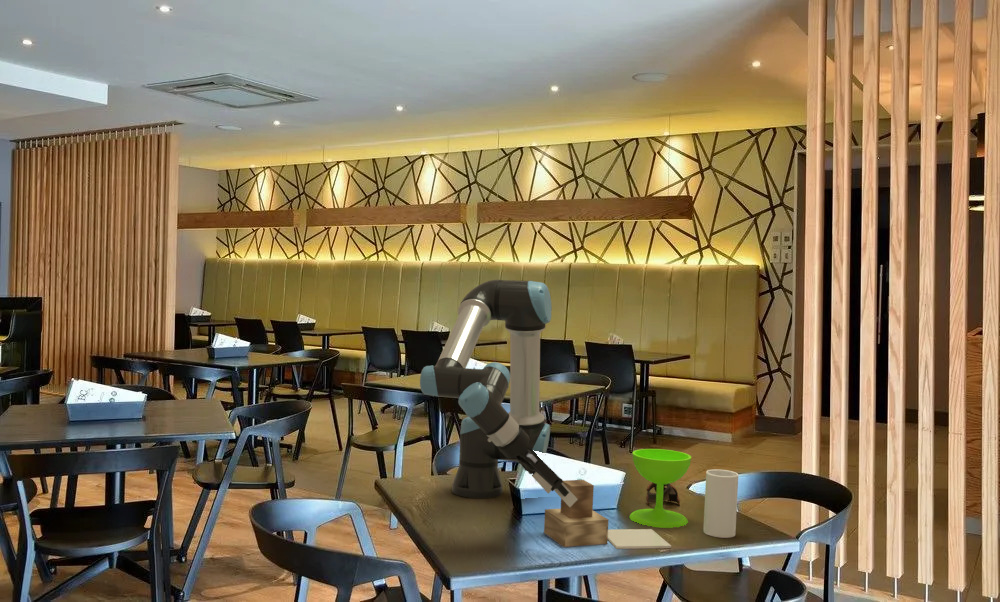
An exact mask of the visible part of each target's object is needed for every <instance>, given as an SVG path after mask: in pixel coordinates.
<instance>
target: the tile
mask: <svg viewBox="0 0 1000 602" xmlns="http://www.w3.org/2000/svg"><path fill="white" fill-rule="evenodd" d="M608 541H609V543H610V544H611V545H612V546H613V547H614V548H615V549H616V550H624V549H627V550H628V549H629V550H631V549H633V550H634V549H639V550H640V549H672V545H671V544H670V543H669V542H668V541H666V540H665V539H664V538H662V536H661V535H659V534H658V533H657V532H656V531H655V530H653V529H652V528H647V529H646V528H643V529H642V528H640V529H639V528H638V529H637V528H635V529H629V528H628V529H626V528H624V529H608ZM608 541H607V542H608Z"/></svg>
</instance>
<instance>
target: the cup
mask: <svg viewBox="0 0 1000 602" xmlns="http://www.w3.org/2000/svg"><path fill="white" fill-rule="evenodd" d="M705 473H706V474H705V490H704V508H703V509H704V510H703V511H704V512H703V529H702V530H703V531H702V532H703V533H704V534H705V535H707V536H710V537H713V538H714V537H715V538H722V539H724V538H726V539H729V538H734V537H735V536H736V533H737V532H736V530H737V527H736V526H737V513H738V511H737V510H738V508H737V507H738V492H739V490H738V489H739V473H737V472H735V471H732V470H727V469H717V468H715V469H707V470H706V472H705Z"/></svg>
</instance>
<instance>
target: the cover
mask: <svg viewBox="0 0 1000 602" xmlns="http://www.w3.org/2000/svg"><path fill="white" fill-rule="evenodd" d="M563 483H564V485H565V486H566V487H567V488H568V489H569V490H570V491H571V492H572V493H573V495H574V496H575V497H576V498H577V499H578V500H577V501H576V502H575V503H574V504H573V505H572V506H571V507H569V506H568V505H567V504H566V503H565V502H564V501H563V500H562V498H561V497H560V508H548V509H544V520H543V521H544V526H543V534H545V535H546V536H548V537H549V538H550V539H552V540H553V541H555V542H556V543H557V544H559V545H560V546H561V547H562V548H568V547H581V546H593V545H594V546H596V545H605V544H606V545H607V544H608V530H609V519H608V518H606V517H604V516H603V515H601V514H599V513H598V512H596V511H595V510H594V509H593V508H594V507H593V506H594V489H595V488H594V485H593V484H592V483H590V482H589V481H587V480H585V479H572V480H571V479H570V480H568V479H567V480H563Z"/></svg>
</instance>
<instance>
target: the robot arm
mask: <svg viewBox="0 0 1000 602" xmlns="http://www.w3.org/2000/svg"><path fill="white" fill-rule="evenodd" d="M457 316H458V317H457V319H456V321H455V323H454V325H453V328H452V330H451V332H450V335H449V336H448V338H447V340H446V343H445V345H444V347H443V349H442V351H441V354H440V356H439V358H438V360H437V361H436V364H435V365H425V366H423V368H422V369H421V372H420V377H419V378H420V379H419V386H420V390H421V392H422V394H424V395H426V396H433V397H437V398H438V397H443V398H457V399H458V401H457V402H458V405H459V407H460V408H461V409H462V410H463V412H464V413H465V415H466V417H464V418H463V419H462V420H461V423H460V424H461V425H460V432H459V459H458V460H459V462H458V468H457V470H456V474H455V477H454V478H453V482H452V487H451V488H452V489H451V491H452V493H453V494H454V495H456V496H460V497H463V498H469V499H491V498H492V499H493V498H497V497H499V496H502V495H503V493H504V492H503V491H504V490H503V487H504V486H503V483H502V482H503V481H502V479H501V475H500V474H501V473H500V471H499V460H500V461H509V462H518V463H519V464H520V466H521V467H522V468H523V470H524V471H525V472H527V473H528V474H529V475H531V477H532V478H533V479H534V480H535V481H536V483H537V484H539V485H540V487H541V488H543V490H544V491H545V492H546V493H547V494H550V493H551V492H555V493H556V494H557V495H558V496H559V498H560V499H561V498H562V500H563V501H564V502H565V503H566V504H567V505H568V506H569V507H571V506H572V505H573V504H574V503H575V502H576V501H577V500H578V499H577V498H576V497H575V496H574V495H573V493H572V492H571V491H570V490H569V489H568V488H567V487H566V486H565V485H564V483H563V481H564V480H563V479H562V478H561V477H560V476H559V475H558V474H557V473H556V472H555V471H554V470H553V469H551V467H550V466H549V465H547V464H546V462H545V461H544V460H541V459H540V458H539V457H538V456H537V454H536V453H535V452H534V451H539V452H542V453H546V454H547V451H548V450H547V449H548V447H549V443H550V442H549V441H550V434H551V424H548V423H545V416H544V414H542V412H540V393H541V392H540V390H541V389H540V387H541V386H540V385H541V383H540V382H541V381H540V380H541V379H540V378H541V377H540V375H541V374H540V372H541V369H540V368H541V333H542V332H543V331H545V329H546V325H547V324H549V323H550V322H551V320H552V298H551V294H550V290H549V287H548V285H546V284H545V283H544V282H541V281H534V280H517V279H516V280H512V279H510V280H507V279H506V280H505V279H504V280H503V279H492V280H487V281H485V282H483V283H480V284H479V285H477V286H476V287H474V288H472V289H471V290H470V291H469V292H468V293H467V294H466V295H465V296H464V297H463V298H462V300H461V302H460V304H459V306H458V309H457ZM490 321H503V322H505V323H504V328H505V330H507V331H508V333H509V334H510V336H509V338H510V343H509V344H510V349H509V350H510V353H509V354H510V355H509V357H510V358H509V360H510V361H509V363H510V364H509V365H510V370H509V368H507V366H505V365H504V364H502V363H501V362H496V361H493V362H490V363H487V364H486V365H485V366H484V367H483V368H482V369H480V368H468V367H467V366H468V364H469V362H470V360H471V357H472V355H473V353H474V351H475V350H474V349H475V347H476V345H477V344H478V343H477V342H478V341H479V338H480V336H481V334H482V332H483V329H484V327H486V326H488V324H489V323H490ZM509 388H510V389H509ZM508 389H509V391H510V393H509V394H510V395H509V397H510V398H509V399H510V400H509V402H510V403H509V404H510V405H509V412H508V411H507V410H506V409H505V408H504V407H503V406H502V404H503V401H504V400H505V399H504V398H505V396H506V394H507V391H508ZM533 450H534V451H533Z"/></svg>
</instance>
